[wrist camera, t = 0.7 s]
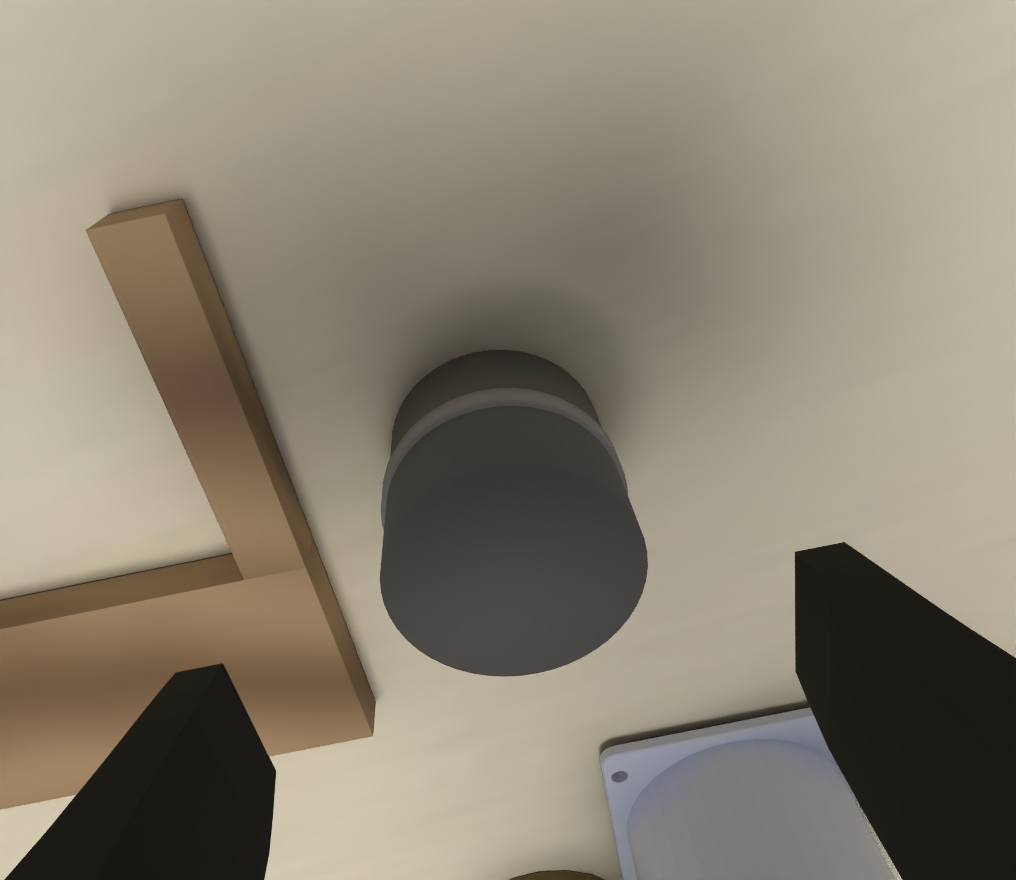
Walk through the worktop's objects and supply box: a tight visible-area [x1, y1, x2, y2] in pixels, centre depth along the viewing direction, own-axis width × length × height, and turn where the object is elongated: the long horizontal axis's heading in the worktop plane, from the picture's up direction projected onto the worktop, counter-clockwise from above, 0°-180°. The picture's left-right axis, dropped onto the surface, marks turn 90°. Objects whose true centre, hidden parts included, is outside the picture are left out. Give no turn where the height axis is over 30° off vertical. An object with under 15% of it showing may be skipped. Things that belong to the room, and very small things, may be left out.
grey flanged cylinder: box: [380, 350, 648, 676], centre depth 17 cm, size 5×5×5 cm
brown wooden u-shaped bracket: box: [0, 199, 376, 809], centre depth 19 cm, size 14×12×1 cm
